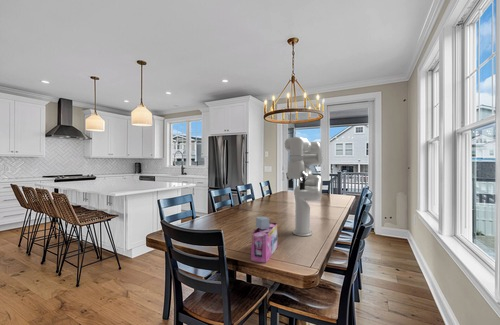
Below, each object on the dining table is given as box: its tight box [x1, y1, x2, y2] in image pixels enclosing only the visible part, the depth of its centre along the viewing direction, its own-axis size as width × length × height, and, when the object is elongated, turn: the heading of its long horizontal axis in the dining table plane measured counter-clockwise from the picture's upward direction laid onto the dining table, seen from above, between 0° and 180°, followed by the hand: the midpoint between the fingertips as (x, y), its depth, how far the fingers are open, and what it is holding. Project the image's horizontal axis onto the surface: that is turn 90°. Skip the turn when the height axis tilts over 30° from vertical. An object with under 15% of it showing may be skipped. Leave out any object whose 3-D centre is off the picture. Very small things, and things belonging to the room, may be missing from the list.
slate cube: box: [255, 216, 270, 229], centre depth 125 cm, size 5×5×5 cm
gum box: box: [250, 221, 278, 264], centre depth 124 cm, size 24×8×14 cm, turn 160°
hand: (296, 188), depth 137 cm, fingers open, 9 cm apart
